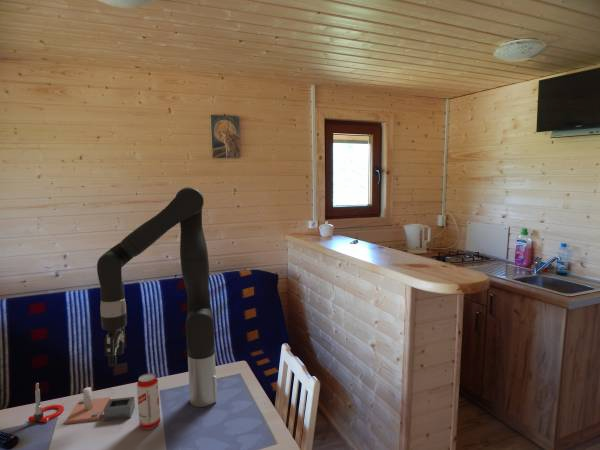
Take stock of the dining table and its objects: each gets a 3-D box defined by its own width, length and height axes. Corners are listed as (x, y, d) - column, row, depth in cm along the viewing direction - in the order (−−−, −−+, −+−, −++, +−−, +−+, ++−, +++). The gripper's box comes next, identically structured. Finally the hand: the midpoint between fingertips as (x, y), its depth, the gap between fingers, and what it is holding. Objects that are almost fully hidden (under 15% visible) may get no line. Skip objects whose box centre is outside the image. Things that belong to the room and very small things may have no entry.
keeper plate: (109, 399, 138) (108, 378, 137) (99, 420, 126) (97, 397, 125) (79, 403, 136) (77, 381, 135) (65, 423, 125) (63, 400, 124)
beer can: (155, 416, 128) (152, 370, 126) (163, 424, 124) (161, 377, 122) (136, 424, 124) (133, 377, 122) (144, 433, 119) (141, 384, 117)
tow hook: (48, 406, 135) (25, 421, 126) (46, 370, 134) (23, 383, 125) (69, 408, 134) (48, 424, 125) (68, 372, 133) (46, 385, 124)
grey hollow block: (134, 407, 133) (134, 396, 133) (130, 418, 127) (129, 406, 127) (110, 410, 132) (109, 399, 131) (104, 421, 126) (103, 409, 125)
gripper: (120, 319, 119) (122, 369, 121) (131, 304, 133) (133, 350, 135) (93, 320, 118) (96, 371, 120) (107, 306, 132) (110, 351, 134)
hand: (116, 360), depth 127 cm, fingers open, 8 cm apart
